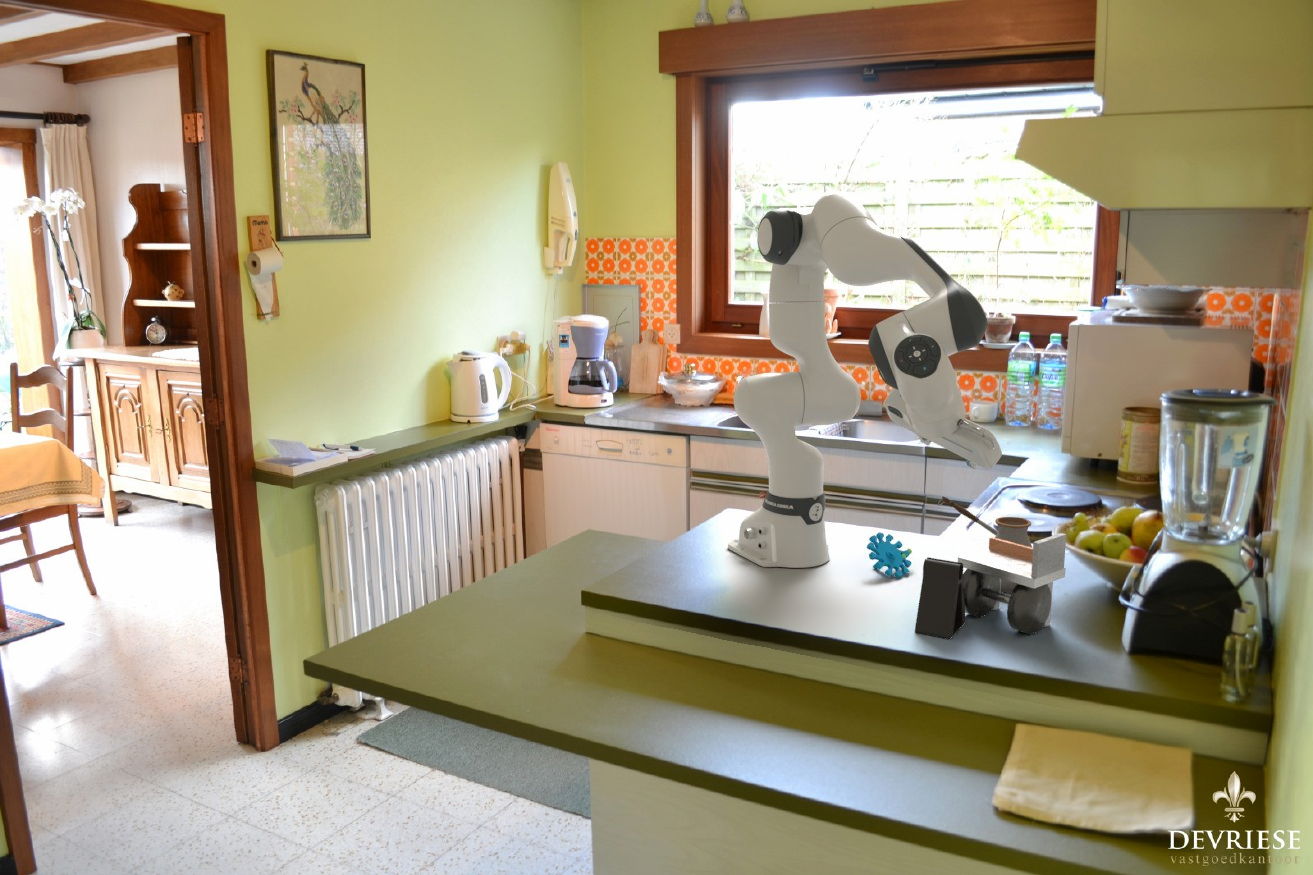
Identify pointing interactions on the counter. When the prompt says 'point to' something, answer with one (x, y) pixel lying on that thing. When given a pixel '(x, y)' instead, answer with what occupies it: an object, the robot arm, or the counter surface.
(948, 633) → the phone stand
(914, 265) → the robot arm
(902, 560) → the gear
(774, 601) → the counter surface
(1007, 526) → the coffee pot
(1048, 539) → the trolley
